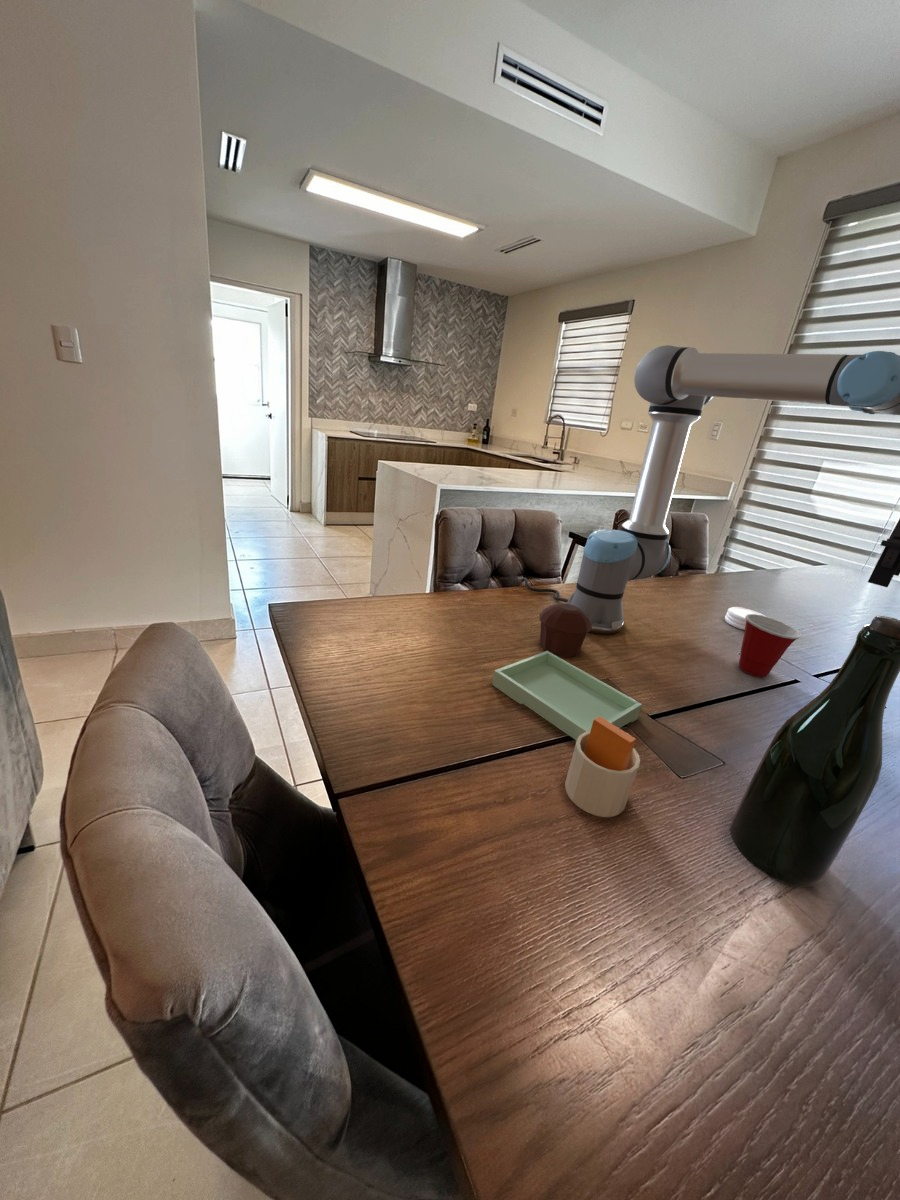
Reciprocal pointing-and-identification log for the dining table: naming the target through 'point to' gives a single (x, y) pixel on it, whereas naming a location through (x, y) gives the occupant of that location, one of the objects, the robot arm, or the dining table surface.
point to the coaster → (738, 616)
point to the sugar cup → (599, 782)
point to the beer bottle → (821, 766)
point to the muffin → (563, 629)
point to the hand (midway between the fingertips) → (883, 578)
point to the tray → (564, 694)
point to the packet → (609, 745)
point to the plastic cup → (764, 644)
